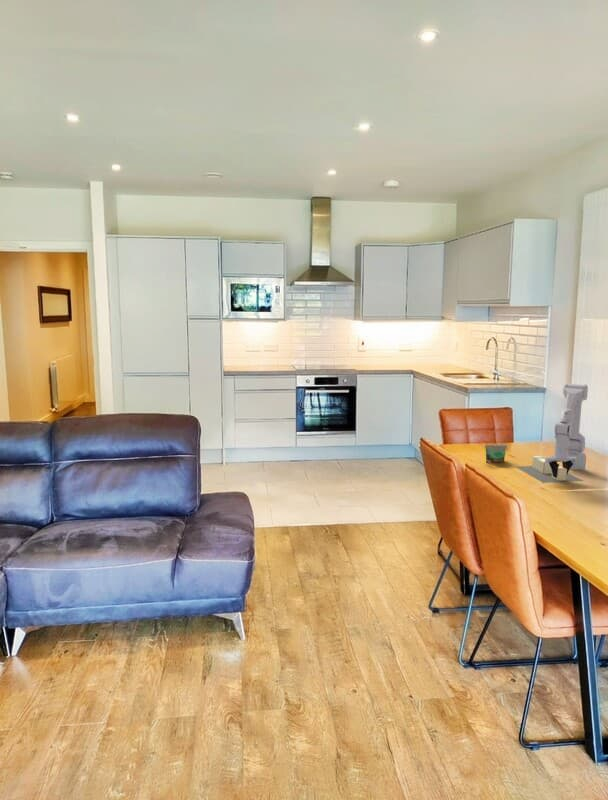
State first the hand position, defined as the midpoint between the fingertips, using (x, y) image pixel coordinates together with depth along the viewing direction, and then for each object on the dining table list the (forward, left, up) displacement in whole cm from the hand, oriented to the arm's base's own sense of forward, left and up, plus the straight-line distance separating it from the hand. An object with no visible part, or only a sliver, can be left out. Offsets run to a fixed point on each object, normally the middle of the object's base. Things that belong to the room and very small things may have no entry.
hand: (559, 476), depth 256 cm
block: (0, -1, -1) cm, 2 cm away
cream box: (0, -15, -1) cm, 15 cm away
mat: (0, -10, -2) cm, 10 cm away
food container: (+15, -32, -2) cm, 35 cm away
